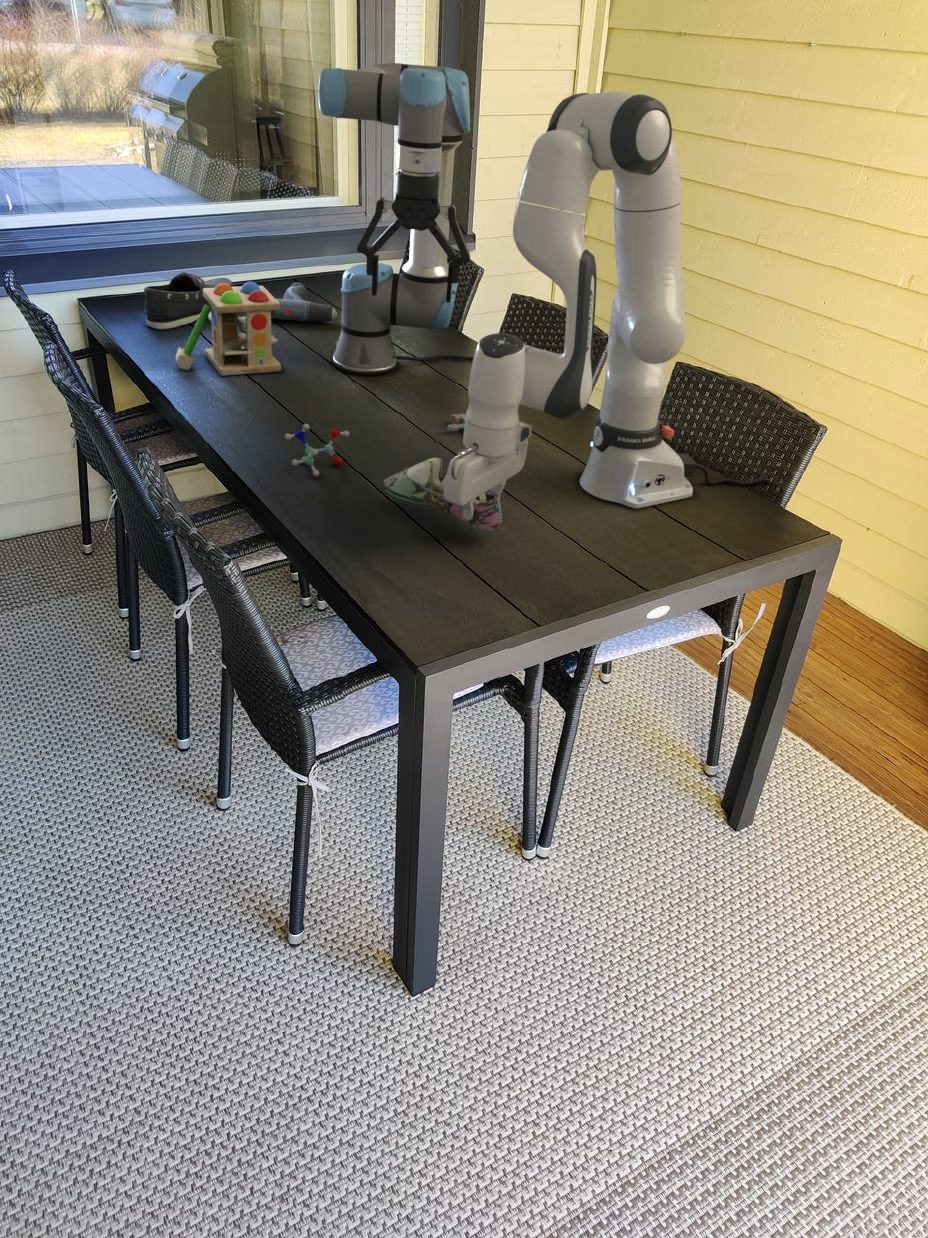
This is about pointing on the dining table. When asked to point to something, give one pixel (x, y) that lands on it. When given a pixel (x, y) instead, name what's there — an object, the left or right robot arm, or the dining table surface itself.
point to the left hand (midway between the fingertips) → (411, 297)
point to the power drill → (301, 307)
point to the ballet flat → (428, 489)
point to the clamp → (457, 422)
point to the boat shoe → (178, 300)
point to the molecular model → (313, 452)
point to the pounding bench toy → (229, 347)
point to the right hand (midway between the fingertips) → (481, 509)
